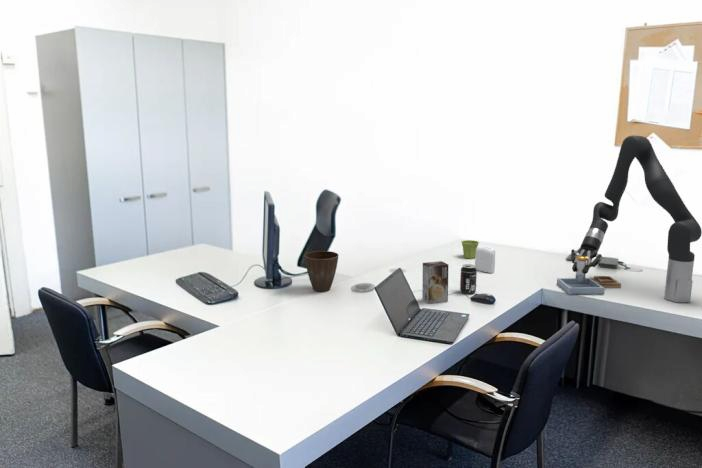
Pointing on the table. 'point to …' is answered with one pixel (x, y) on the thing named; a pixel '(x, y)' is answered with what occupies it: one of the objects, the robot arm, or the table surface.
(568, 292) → the tray
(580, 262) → the lock pin
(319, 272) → the plant pot
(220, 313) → the table surface
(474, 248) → the plant pot
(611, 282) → the brown stepped base
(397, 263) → the table surface
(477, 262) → the photo printer
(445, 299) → the coffee box
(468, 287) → the beverage can
